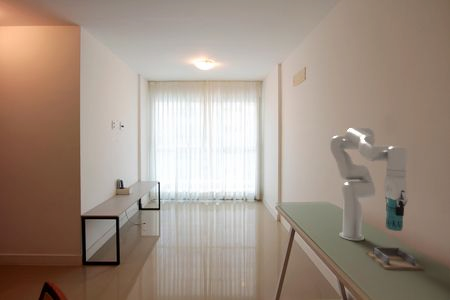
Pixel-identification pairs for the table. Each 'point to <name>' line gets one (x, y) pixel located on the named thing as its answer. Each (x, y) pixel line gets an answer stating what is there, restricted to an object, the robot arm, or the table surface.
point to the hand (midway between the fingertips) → (394, 213)
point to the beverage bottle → (393, 216)
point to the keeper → (394, 259)
